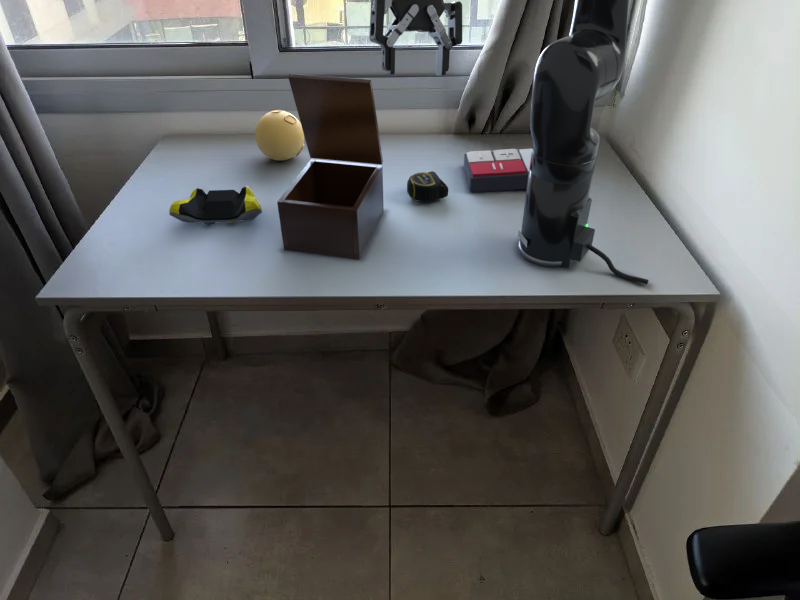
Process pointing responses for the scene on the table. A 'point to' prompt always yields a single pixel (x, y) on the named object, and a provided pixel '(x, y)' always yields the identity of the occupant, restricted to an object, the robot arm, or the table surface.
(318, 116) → the lid
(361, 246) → the chest
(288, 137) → the stress ball
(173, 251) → the table surface
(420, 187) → the tape measure
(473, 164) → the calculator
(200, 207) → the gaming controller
